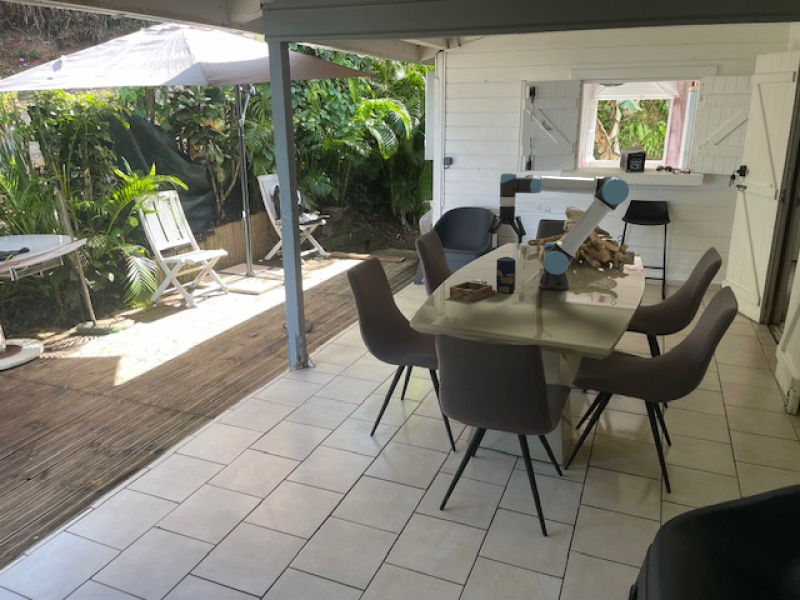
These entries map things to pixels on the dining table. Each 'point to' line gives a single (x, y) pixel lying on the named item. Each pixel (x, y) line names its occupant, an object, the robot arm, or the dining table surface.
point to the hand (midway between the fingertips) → (506, 248)
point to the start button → (477, 281)
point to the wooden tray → (471, 291)
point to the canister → (506, 274)
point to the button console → (481, 282)
